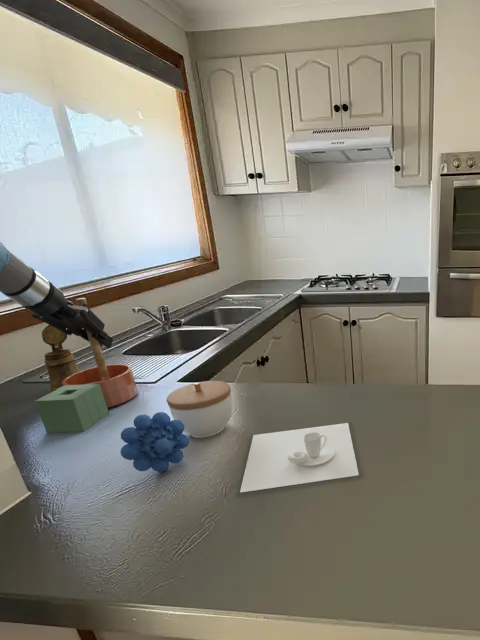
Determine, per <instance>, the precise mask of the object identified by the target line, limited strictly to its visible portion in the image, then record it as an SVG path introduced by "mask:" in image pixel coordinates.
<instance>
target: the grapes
mask: <svg viewBox="0 0 480 640" xmlns="http://www.w3.org/2000/svg"><path fill="white" fill-rule="evenodd" d="M184 429H185V427H184V424H183V423H182V422H181V421H179V420H174V419H173V420H171V416H169V414H167V413H166V412H164V411H159V412H156V413H154V414H153V416H152V417H150V416H149V415H148V414H138V415H137V416H136V417H134V419H133V426H130V427H125V428H124V429H122V431H121V432H120V439H121V440H122V441H123V443H125V444H124V445H123V446H122V447H121V448H120V456H121V457H122V458H123V459H124V460H127V461H133V462H132V466H133V468H134V469H135V470H136V471H139V472H147V471H148V470H150V469H152V470H153V471H154V472H157V473H163V472H166V471H167V470H168V469H169V467H170V463H171V464H179V463H180V462H182V461H183V459H184V456H185V455H184V452H183V451H182V450H183V449H184V450H185V449H186V448H187V447H188V446H189V444H190V438H189V437H188V436H187V435H186V434H184Z"/></svg>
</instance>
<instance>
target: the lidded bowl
mask: <svg viewBox="0 0 480 640" xmlns="http://www.w3.org/2000/svg"><path fill="white" fill-rule="evenodd" d="M166 403H167V405H168V407H169V410H170V414H171V416H172V419H173V420H179V421H181V422H182V423H183V424H184V427H185V429H184V431H183V433H186V434H188V435H190V436H191V437H193V438H197V439H204V438H209V437H213V436H216V435H218V434H219V433H221V432H223V431H224V429H225V428H226V425H227V424H228V423H229V421H230V419H231V417H232V413H233V398H232V390H231V385H230V384H229V383H228V382H225V381H222V380H206V381H205V380H204V381H199V382H198V381H197V382H193V383H189V384H187V385H184V386H181V387H178V388H177V389H175V390H173V391H172V392H170V393H169V394H168V396H167V397H166Z"/></svg>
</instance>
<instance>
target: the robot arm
mask: <svg viewBox="0 0 480 640" xmlns="http://www.w3.org/2000/svg"><path fill="white" fill-rule="evenodd" d="M0 293H2V294H3V295H4V296H6V297H7V298H9V299H10V300H12V302H15V303H16V304H17V305H19V306H21V307H22V308H24V309H26V310H27V311H29V312H30V313H32V314H31V317H32V318H34V319H36V320H39V321H42V322H43V323H45V324H47V325H51V326H52V327H54V328H56V329H58V330H60V331H62V332H63V333H65V334H67V336H72V335H75V336H76V337H80V338H81V339H83V340H85V341H87V342H89V339H88V336H87V333H86V331H88V332H90V333H91V334H92V335H91V336H92V337H93V338H95V339H96V340H98V341H99V344H100V347H101V348H102V347H103V346H105V347H106V348H107V349H111V348H112V344H113V341H114V338H113V337H111V336H110V335H109V334H108V333H107V332H106V331H105V330H104V329H105V327H106V326H105V325H106V324H105V323H104V322H103V321H102V320H101V319H100V318H99V317H98V316H97V315H96V314H95V313H94V312H93V311H92V309H90V307H89V305H88V303H87V304H82V306H78V305H77V304H75V303H74V302H73V301H70V300H68V299H66V296H65V294H64V292H63V291H62V289H60V288H59V287H58V286H56V285H55V284H54V283H52V282H51V281H49V280H48V279H46V278H45V276H43V275H41V273H39V272H38V271H36V270H35V269H34V268H33V267H31V266H30V265H28V264H27V263H26V262H24V261H23V260H22V259H21V258H19V257H18V256H17V255H16V254H14V253H13V252H12V251H11V250H10V249H8V248H7V247H6V246H5V244H3V243H2V242H0ZM89 343H90V342H89Z"/></svg>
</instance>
